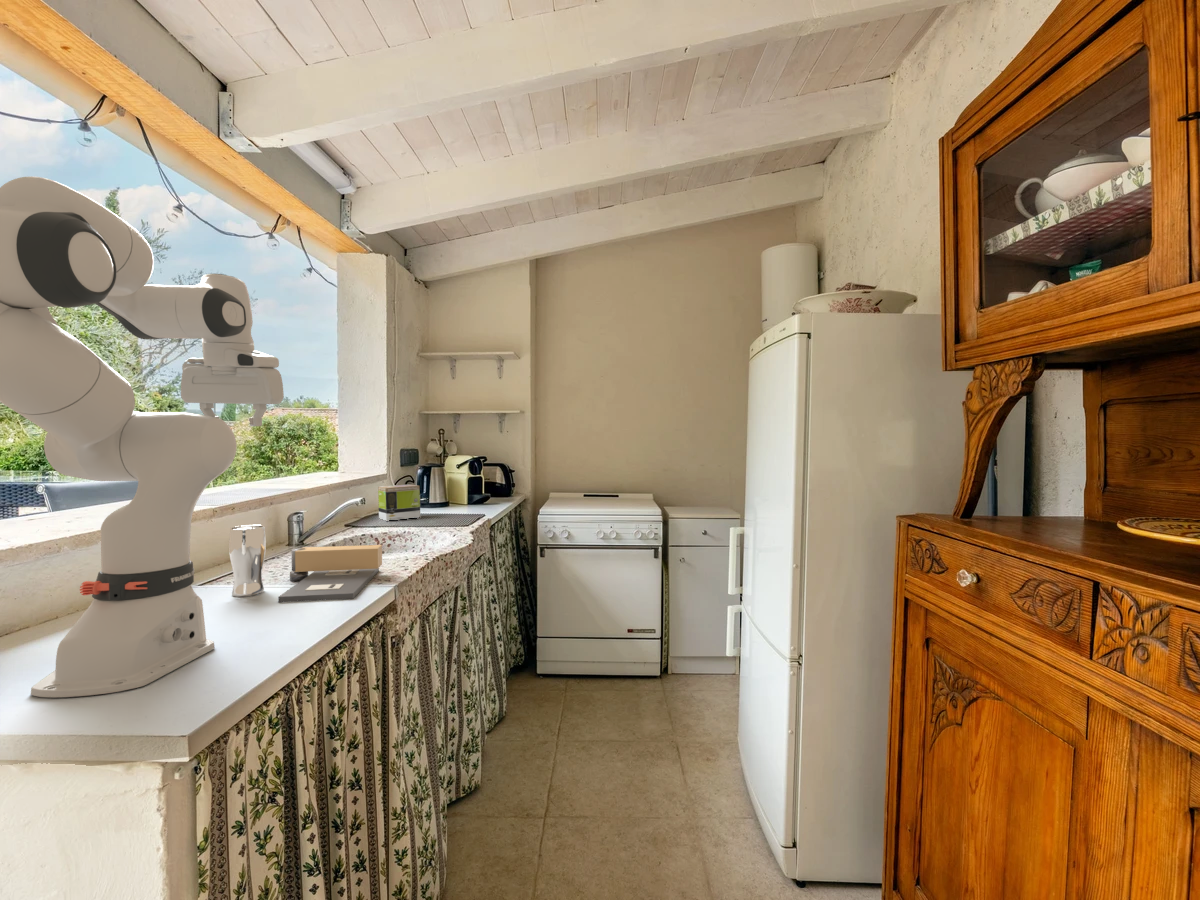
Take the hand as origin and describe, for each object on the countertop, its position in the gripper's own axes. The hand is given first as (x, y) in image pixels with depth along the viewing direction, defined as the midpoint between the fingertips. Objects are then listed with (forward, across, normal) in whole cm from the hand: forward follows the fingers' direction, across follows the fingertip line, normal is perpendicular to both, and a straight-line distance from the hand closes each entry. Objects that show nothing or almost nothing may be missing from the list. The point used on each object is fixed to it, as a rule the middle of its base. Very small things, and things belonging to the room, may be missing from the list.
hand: (234, 425), depth 115 cm
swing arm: (+37, +9, +20) cm, 43 cm away
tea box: (+52, -22, +119) cm, 132 cm away
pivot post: (+40, 0, +17) cm, 43 cm away
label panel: (+39, +12, +13) cm, 43 cm away
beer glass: (+39, -3, +5) cm, 39 cm away
